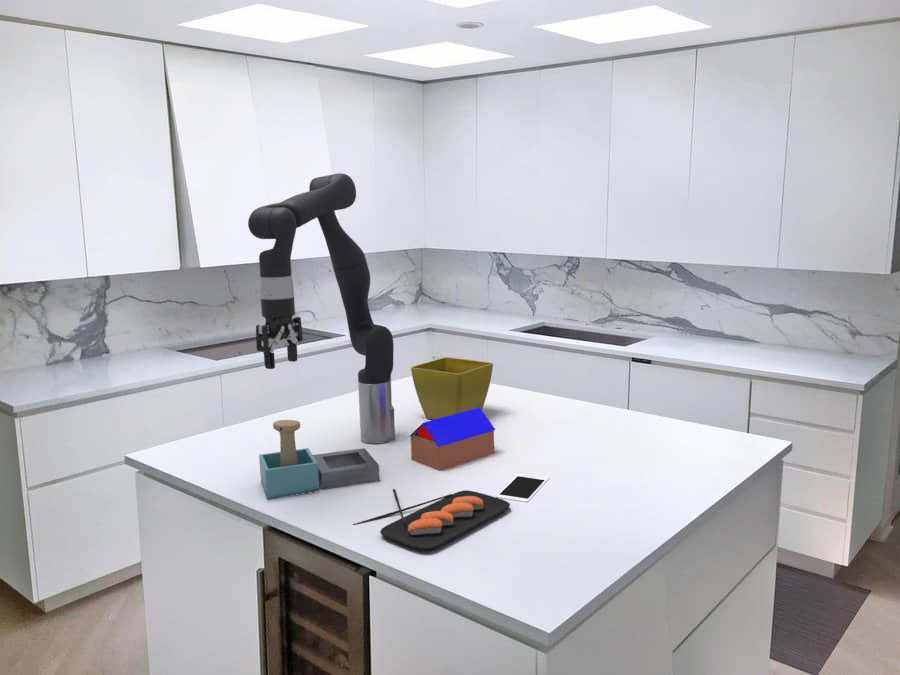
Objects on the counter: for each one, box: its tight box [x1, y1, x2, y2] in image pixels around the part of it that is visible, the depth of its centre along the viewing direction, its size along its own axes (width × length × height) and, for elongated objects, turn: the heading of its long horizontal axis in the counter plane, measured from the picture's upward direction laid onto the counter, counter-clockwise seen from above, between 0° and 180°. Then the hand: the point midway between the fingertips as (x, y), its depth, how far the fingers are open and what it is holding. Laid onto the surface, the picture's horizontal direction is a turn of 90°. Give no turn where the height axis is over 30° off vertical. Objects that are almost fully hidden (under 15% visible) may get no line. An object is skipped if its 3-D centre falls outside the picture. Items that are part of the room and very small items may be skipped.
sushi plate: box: [352, 488, 511, 551], centre depth 164 cm, size 29×30×4 cm
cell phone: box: [495, 473, 550, 503], centre depth 178 cm, size 8×16×1 cm, turn 155°
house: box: [409, 407, 496, 472], centre depth 199 cm, size 12×20×12 cm, turn 132°
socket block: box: [312, 447, 380, 490], centre depth 188 cm, size 14×14×4 cm
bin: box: [258, 447, 320, 500], centre depth 181 cm, size 12×12×7 cm
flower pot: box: [410, 356, 494, 420], centre depth 236 cm, size 19×19×17 cm
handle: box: [272, 419, 301, 467], centre depth 180 cm, size 5×6×15 cm
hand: (281, 364), depth 176 cm, fingers open, 8 cm apart
